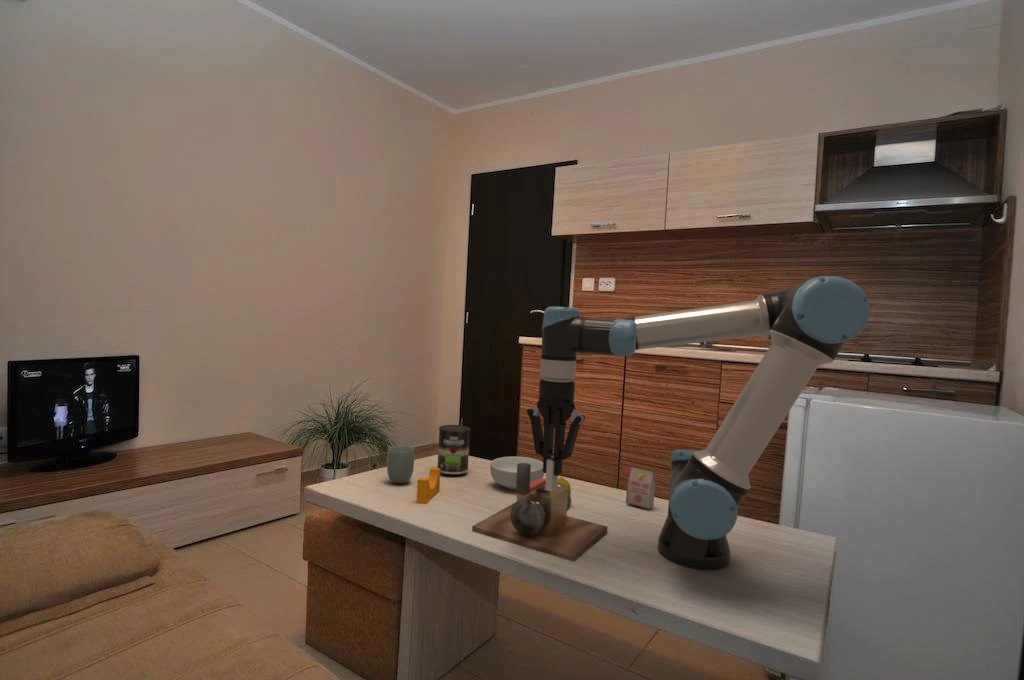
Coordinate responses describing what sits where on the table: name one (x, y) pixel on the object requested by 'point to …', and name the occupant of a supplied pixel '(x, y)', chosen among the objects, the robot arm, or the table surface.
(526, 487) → the lever
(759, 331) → the robot arm
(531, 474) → the cereal bowl
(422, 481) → the orange arch block
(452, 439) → the coffee can
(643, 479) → the white red food package
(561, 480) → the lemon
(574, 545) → the mount board
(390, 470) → the cup
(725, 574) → the table surface
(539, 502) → the valve
